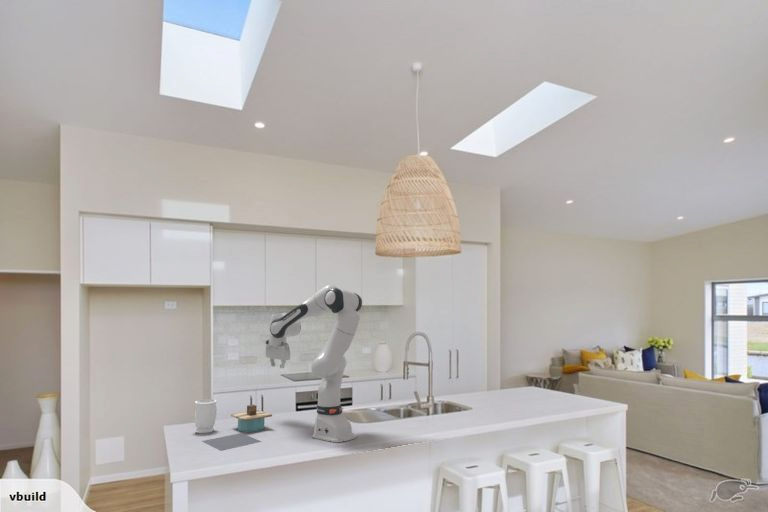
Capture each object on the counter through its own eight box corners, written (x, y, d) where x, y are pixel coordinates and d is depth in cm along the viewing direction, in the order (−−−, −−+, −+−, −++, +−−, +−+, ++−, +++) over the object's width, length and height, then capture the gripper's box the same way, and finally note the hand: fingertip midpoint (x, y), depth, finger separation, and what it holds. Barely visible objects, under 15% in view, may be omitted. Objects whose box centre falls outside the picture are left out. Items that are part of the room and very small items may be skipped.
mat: (261, 442, 223) (261, 441, 223) (220, 451, 209) (220, 450, 210) (241, 434, 238) (241, 433, 238) (201, 442, 224) (201, 441, 224)
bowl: (268, 429, 247) (269, 416, 247) (245, 434, 238) (245, 420, 238) (256, 424, 256) (256, 412, 257) (233, 429, 247) (233, 416, 248)
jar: (206, 435, 236) (207, 403, 237) (189, 433, 239) (190, 402, 240) (220, 429, 246) (221, 399, 247) (203, 428, 249) (204, 398, 250)
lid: (272, 416, 247) (272, 405, 248) (245, 421, 237) (245, 410, 237) (257, 411, 258) (257, 401, 258) (231, 416, 248) (231, 405, 248)
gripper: (293, 342, 261) (292, 368, 260) (273, 340, 276) (273, 364, 275) (283, 343, 257) (282, 369, 256) (263, 341, 272) (263, 365, 270)
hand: (277, 367), depth 265 cm, fingers open, 8 cm apart
